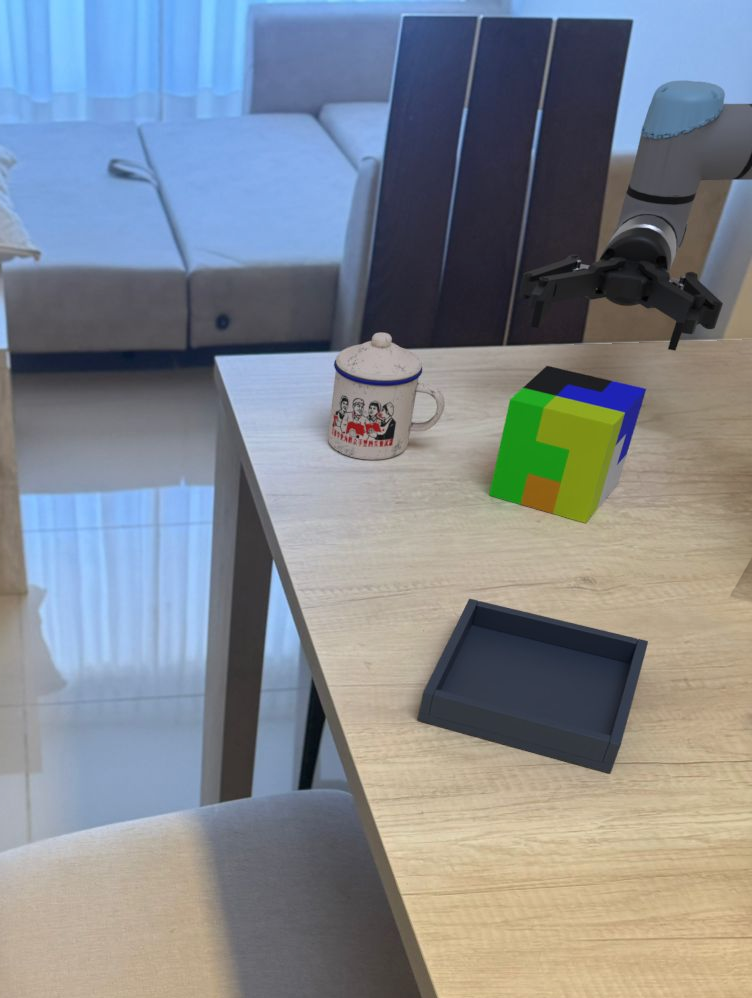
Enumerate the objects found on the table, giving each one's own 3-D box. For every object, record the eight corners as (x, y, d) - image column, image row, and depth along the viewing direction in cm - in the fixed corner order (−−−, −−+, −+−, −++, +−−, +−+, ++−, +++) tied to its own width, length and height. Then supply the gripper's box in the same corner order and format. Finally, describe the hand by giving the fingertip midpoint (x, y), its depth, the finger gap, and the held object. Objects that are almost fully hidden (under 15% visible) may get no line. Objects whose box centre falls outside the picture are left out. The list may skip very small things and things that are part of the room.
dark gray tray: (638, 669, 95) (648, 640, 93) (610, 774, 85) (620, 744, 83) (463, 625, 99) (469, 598, 97) (417, 720, 89) (422, 691, 88)
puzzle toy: (618, 483, 119) (646, 388, 112) (585, 523, 113) (613, 425, 106) (524, 458, 123) (546, 365, 116) (489, 495, 117) (510, 399, 110)
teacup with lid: (315, 453, 124) (327, 343, 116) (338, 419, 130) (350, 314, 122) (425, 473, 120) (445, 362, 112) (443, 438, 127) (464, 330, 119)
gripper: (741, 313, 129) (723, 383, 115) (518, 279, 137) (475, 341, 123) (766, 242, 124) (750, 306, 110) (532, 211, 132) (490, 267, 118)
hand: (605, 325), depth 116 cm, fingers open, 13 cm apart
